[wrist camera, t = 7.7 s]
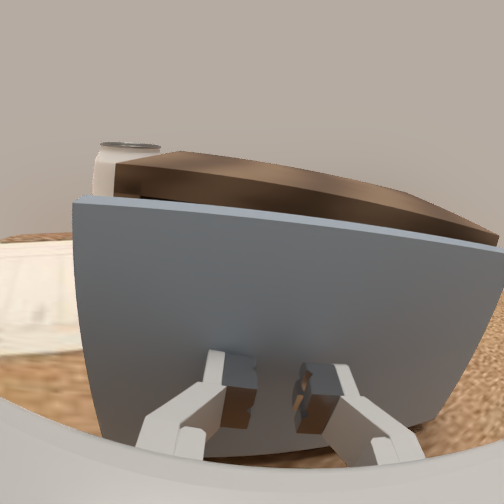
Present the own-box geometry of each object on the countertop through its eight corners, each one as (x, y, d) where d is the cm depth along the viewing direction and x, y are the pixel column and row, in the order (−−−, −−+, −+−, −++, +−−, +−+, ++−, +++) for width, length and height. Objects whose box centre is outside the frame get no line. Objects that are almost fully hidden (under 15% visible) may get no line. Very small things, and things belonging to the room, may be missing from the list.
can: (79, 271, 28) (81, 143, 24) (115, 251, 34) (121, 141, 30) (134, 289, 27) (142, 147, 23) (165, 264, 33) (177, 146, 29)
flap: (106, 451, 11) (72, 202, 7) (108, 434, 12) (83, 194, 8) (434, 418, 15) (515, 255, 11) (426, 408, 16) (501, 247, 12)
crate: (120, 390, 16) (115, 163, 12) (167, 294, 27) (180, 150, 23) (417, 414, 16) (499, 235, 12) (367, 321, 28) (405, 192, 24)
